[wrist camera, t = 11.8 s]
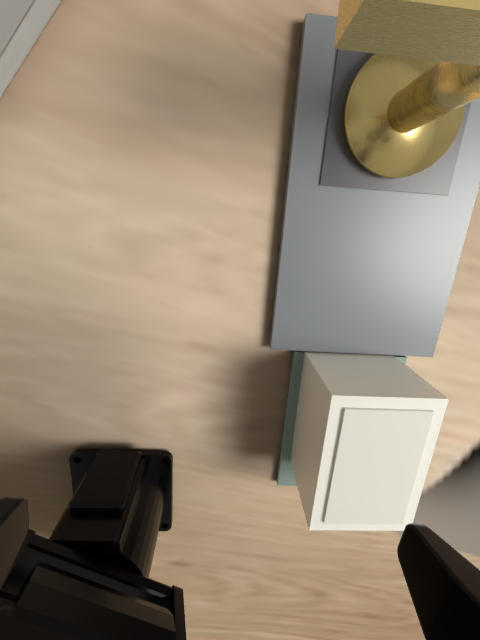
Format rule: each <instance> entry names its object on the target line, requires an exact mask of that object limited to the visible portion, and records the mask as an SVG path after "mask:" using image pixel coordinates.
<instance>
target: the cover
mask: <svg viewBox="0 0 480 640" xmlns="http://www.w3.org/2000/svg"><path fill="white" fill-rule="evenodd" d="M448 400H449V399H448V398H447V397H446V396H444V395H443V394H442V393H440V392H439V391H438V390H437V389H435V388H434V387H433V386H432V385H430V384H429V383H428V382H426V381H425V380H424V379H423V378H421V377H420V376H419V375H418V374H416V373H415V372H414V371H412V370H411V369H410V368H409V367H407V366H406V365H405V364H404V363H402V362H401V361H400V360H398V359H397V358H396V357H395V356H393V355H374V354H349V353H324V352H305V354H304V362H303V369H302V377H301V384H300V392H299V399H298V407H297V414H296V422H295V429H294V437H293V444H292V452H291V459H290V462H291V465H292V469H293V473H294V476H295V480H296V484H297V487H298V491H299V494H300V498H301V502H302V505H303V509H304V513H305V516H306V520H307V523H308V527H309V530H404V529H405V527H406V525H408V524H410V523H413V520H414V516H415V512H416V509H417V506H418V502H419V499H420V496H421V492H422V489H423V485H424V482H425V479H426V475H427V472H428V468H429V465H430V462H431V458H432V455H433V451H434V448H435V444H436V441H437V438H438V434H439V431H440V427H441V424H442V421H443V417H444V414H445V410H446V407H447V404H448Z"/></svg>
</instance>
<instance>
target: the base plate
mask: <svg viewBox="0 0 480 640" xmlns="http://www.w3.org/2000/svg"><path fill="white" fill-rule="evenodd" d="M337 19H338V17H333V16H324V15H316V14H307V13H306V16H305V18H304V21H303V29H302V38H301V48H300V57H299V67H298V77H297V86H296V96H295V106H294V115H293V125H292V135H291V144H290V154H289V163H288V173H287V183H286V192H285V202H284V212H283V221H282V231H281V240H280V250H279V260H278V269H277V279H276V289H275V298H274V308H273V318H272V327H271V337H270V348H271V349H272V350H294V351H315V352H337V353H359V354H380V355H402V356H423V357H433V355H434V351H435V347H436V344H437V340H438V336H439V333H440V329H441V325H442V322H443V318H444V314H445V310H446V307H447V303H448V299H449V296H450V292H451V288H452V285H453V281H454V277H455V274H456V270H457V266H458V262H459V259H460V255H461V251H462V248H463V244H464V240H465V237H466V233H467V229H468V226H469V222H470V218H471V215H472V211H473V207H474V203H475V200H476V196H477V192H478V189H479V185H480V98H478V99H476V100H474V101H471V102H469V103H467V104H466V105H465V112H464V117H463V120H462V124H461V127H460V129H459V131H458V134H457V136H456V138H455V139H454V141H453V143H452V144H451V146H450V147H449V149H448V150H447V151H446V152H445V154H444V155H443V156H442V157H441V158H440V159H439V160H438V161H437V162H435V163H434V164H433V165H431V166H430V167H428V168H427V169H425V170H423V171H421V172H419V173H416V174H413V175H409V176H406V177H402V178H395V179H389V178H381V177H378V176H375V175H372V174H370V173H368V172H367V171H365V170H364V169H362V168H361V167H360V166H359V165H358V164H357V163H356V162H355V160H354V159H353V158H352V156H351V154H350V153H349V151H348V149H347V146H346V144H345V140H344V136H343V130H342V111H343V105H344V100H345V97H346V94H347V91H348V89H349V87H350V85H351V83H352V81H353V79H354V77H355V76H356V74H357V73H358V72H359V70H360V69H361V68H362V67H363V65H364V64H365V63H366V62H367V61H368V60H369V59H370V58H371V57H372V56H373V55H374V54H375V53H366V52H358V51H350V50H341V49H334V41H335V34H336V26H337Z"/></svg>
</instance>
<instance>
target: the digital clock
mask: <svg viewBox="0 0 480 640" xmlns="http://www.w3.org/2000/svg"><path fill="white" fill-rule="evenodd" d="M61 1H62V0H0V97H1V96H2V94H3V93H4V91H5V90H6V88H7V86H8V85H9V83H10V82H11V80H12V79H13V77H14V75H15V74H16V72H17V71H18V69H19V67H20V66H21V64H22V63H23V61H24V60H25V58H26V56H27V55H28V53H29V52H30V50H31V48H32V47H33V45H34V44H35V42H36V41H37V39H38V37H39V36H40V34H41V33H42V31H43V29H44V28H45V26H46V25H47V23H48V22H49V20H50V18H51V17H52V15H53V14H54V12H55V10H56V9H57V7H58V6H59V4H60V3H61Z"/></svg>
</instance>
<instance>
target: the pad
mask: <svg viewBox="0 0 480 640" xmlns="http://www.w3.org/2000/svg"><path fill="white" fill-rule="evenodd" d="M305 352H315V351H294V350H293V357H292V365H291V373H290V381H289V389H288V396H287V404H286V412H285V420H284V428H283V435H282V443H281V451H280V459H279V466H278V474H277V485H291V486H297V484H296V480H295V476H294V473H293V469H292V465H291V462H290V459H291V452H292V444H293V437H294V429H295V422H296V414H297V407H298V399H299V392H300V384H301V377H302V369H303V362H304V354H305ZM324 353H337V352H324ZM349 354H359V353H349ZM374 355H380V354H374ZM393 356H395V357H396V358H397V359H398V360H400V361H401V362H402V363H404V364H405V363H406V359H407V357H405V356H402V355H393Z"/></svg>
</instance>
